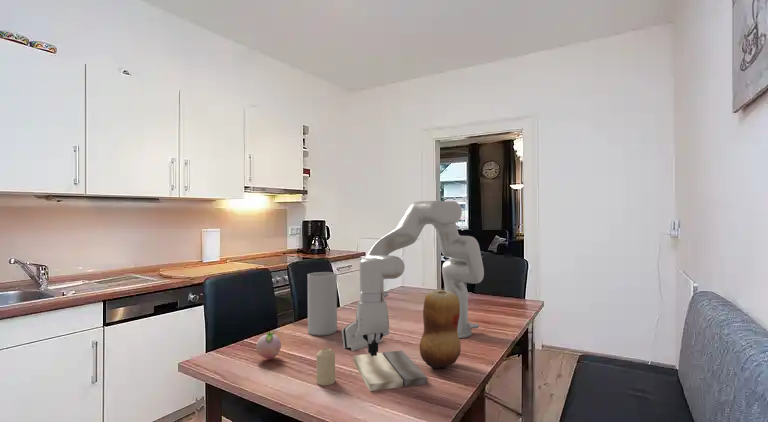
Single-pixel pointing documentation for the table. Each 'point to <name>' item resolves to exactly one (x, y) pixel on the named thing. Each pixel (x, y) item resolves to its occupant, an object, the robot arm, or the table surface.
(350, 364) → the table surface
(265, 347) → the decorative fruit
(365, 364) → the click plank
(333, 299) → the cylinder vase
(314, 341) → the table surface
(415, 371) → the floor board
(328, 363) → the candle
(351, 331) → the grey flat curved part
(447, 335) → the butternut squash
